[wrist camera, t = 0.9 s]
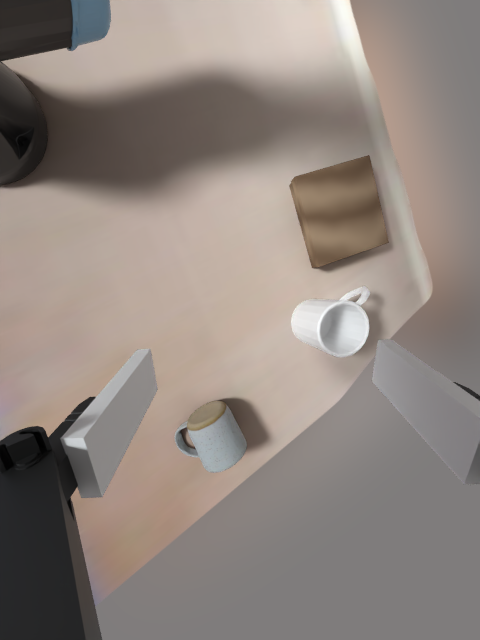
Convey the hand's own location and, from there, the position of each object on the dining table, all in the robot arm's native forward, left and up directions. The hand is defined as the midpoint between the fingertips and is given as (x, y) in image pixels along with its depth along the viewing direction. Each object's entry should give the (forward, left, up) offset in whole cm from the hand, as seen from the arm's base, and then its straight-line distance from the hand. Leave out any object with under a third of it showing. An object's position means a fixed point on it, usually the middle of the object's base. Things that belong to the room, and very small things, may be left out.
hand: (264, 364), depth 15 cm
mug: (+5, +17, -28) cm, 33 cm away
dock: (-10, +24, -28) cm, 38 cm away
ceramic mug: (+17, -8, -28) cm, 34 cm away
